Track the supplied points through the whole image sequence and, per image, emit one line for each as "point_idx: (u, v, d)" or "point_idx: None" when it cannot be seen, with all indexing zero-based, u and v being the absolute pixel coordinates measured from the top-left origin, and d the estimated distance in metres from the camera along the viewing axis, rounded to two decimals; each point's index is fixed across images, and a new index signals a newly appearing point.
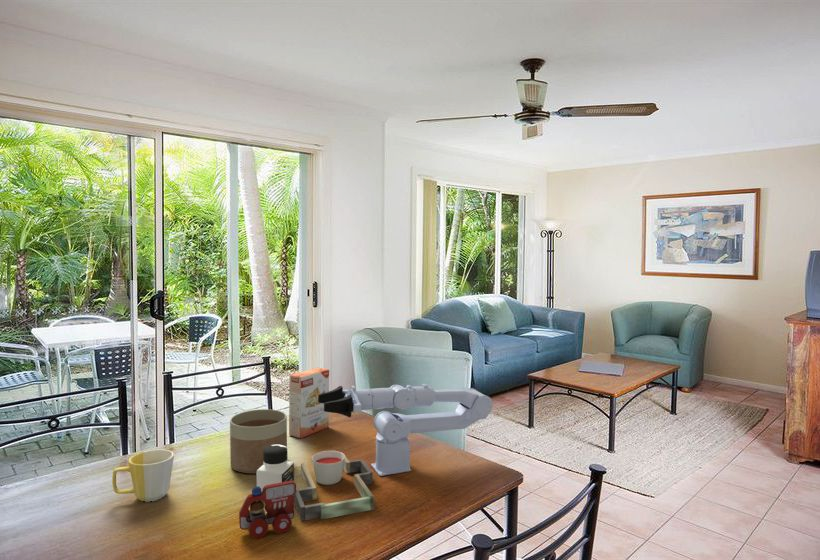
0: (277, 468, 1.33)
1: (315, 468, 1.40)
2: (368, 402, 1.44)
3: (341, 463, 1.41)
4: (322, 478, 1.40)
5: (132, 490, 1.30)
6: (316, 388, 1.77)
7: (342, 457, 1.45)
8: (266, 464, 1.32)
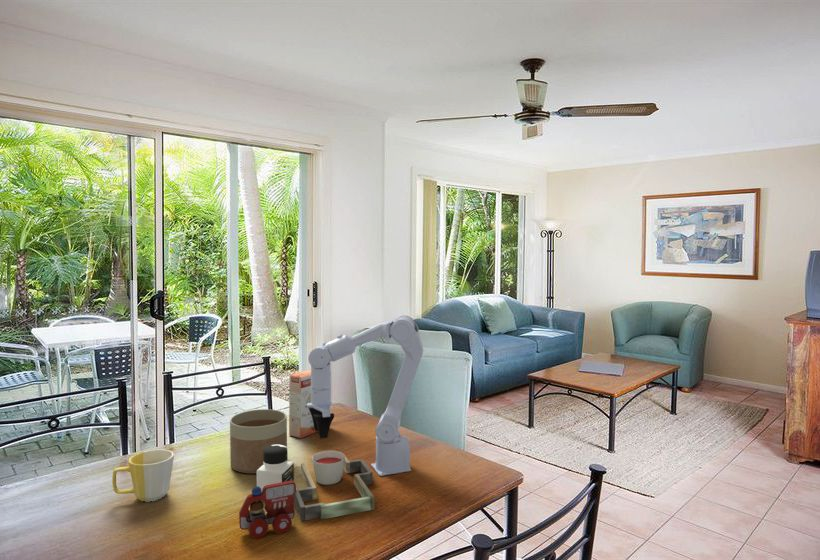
0: (277, 468, 1.33)
1: (315, 468, 1.40)
2: (323, 394, 1.48)
3: (341, 463, 1.41)
4: (322, 478, 1.40)
5: (132, 490, 1.30)
6: None
7: (342, 457, 1.45)
8: (266, 464, 1.32)
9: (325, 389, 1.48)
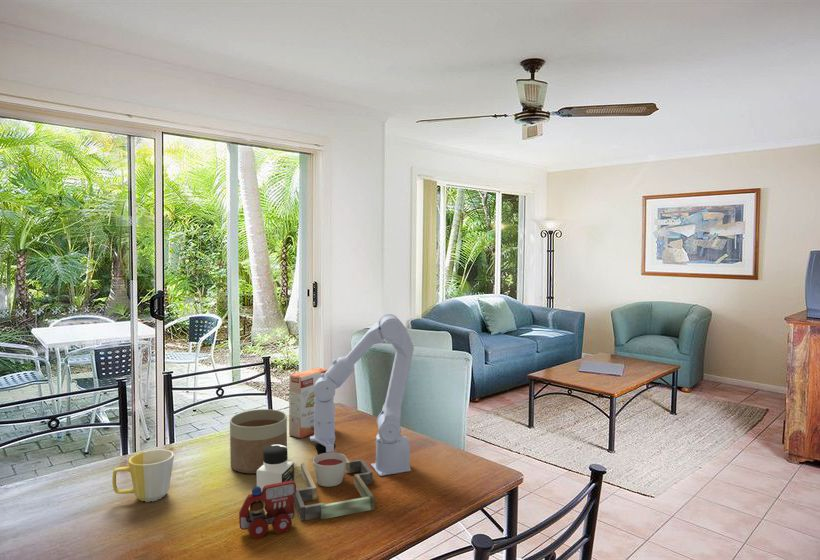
0: (277, 468, 1.33)
1: (316, 470, 1.39)
2: (326, 427, 1.44)
3: (342, 465, 1.39)
4: (323, 480, 1.38)
5: (132, 490, 1.30)
6: None
7: (343, 459, 1.44)
8: (266, 464, 1.32)
9: (329, 422, 1.45)
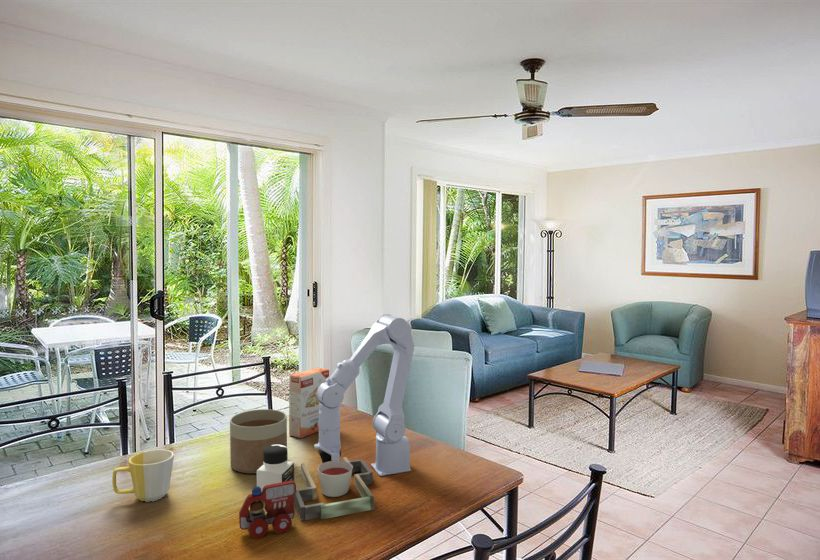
0: (277, 468, 1.33)
1: (321, 479, 1.33)
2: (331, 435, 1.39)
3: (348, 474, 1.34)
4: (329, 490, 1.33)
5: (132, 490, 1.30)
6: (316, 388, 1.77)
7: (349, 467, 1.38)
8: (266, 464, 1.32)
9: (334, 429, 1.39)
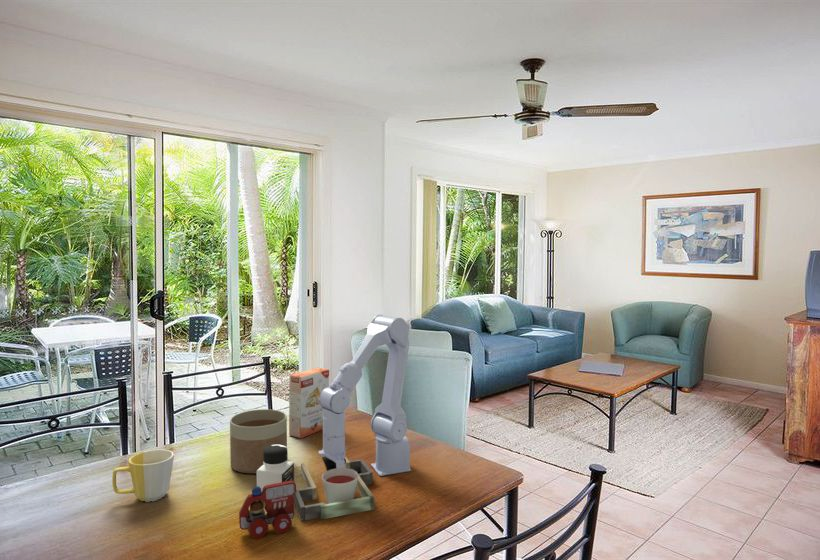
0: (277, 468, 1.33)
1: (325, 488, 1.29)
2: (336, 441, 1.34)
3: (354, 482, 1.29)
4: (333, 499, 1.28)
5: (132, 490, 1.30)
6: (316, 388, 1.77)
7: (354, 475, 1.33)
8: (266, 464, 1.32)
9: (339, 436, 1.34)
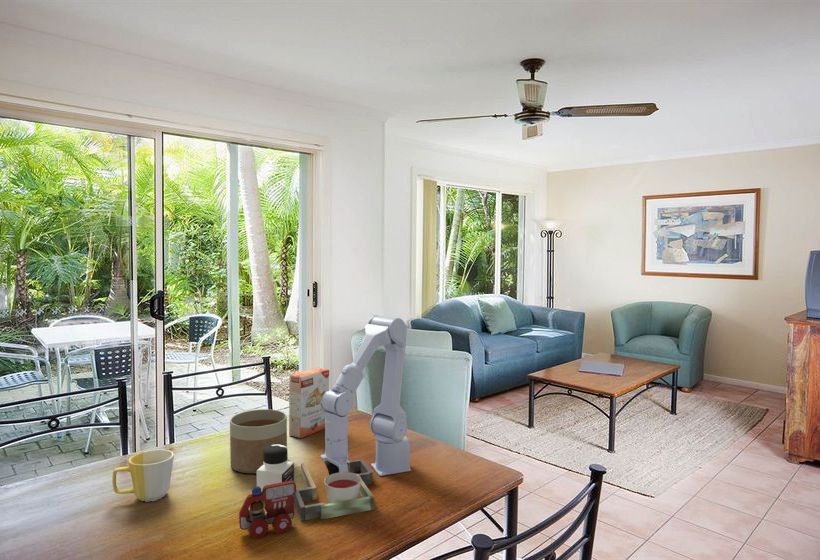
0: (277, 468, 1.33)
1: (328, 493, 1.26)
2: (339, 445, 1.32)
3: (357, 487, 1.27)
4: None
5: (132, 490, 1.30)
6: (316, 388, 1.77)
7: (357, 480, 1.31)
8: (266, 464, 1.32)
9: (341, 440, 1.32)
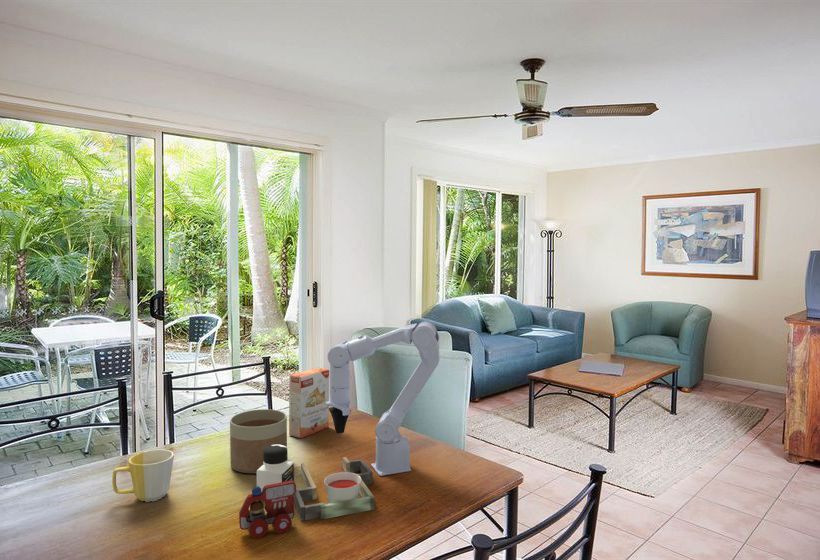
0: (277, 468, 1.33)
1: (328, 493, 1.26)
2: (342, 392, 1.48)
3: (357, 487, 1.27)
4: None
5: (132, 490, 1.30)
6: (316, 388, 1.77)
7: (357, 480, 1.31)
8: (266, 464, 1.32)
9: (344, 387, 1.48)
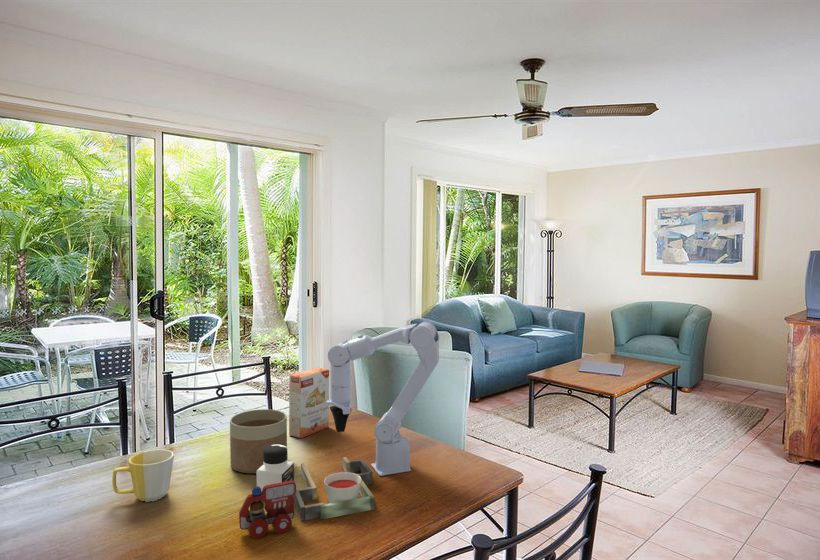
0: (277, 468, 1.33)
1: (328, 493, 1.26)
2: (342, 391, 1.49)
3: (357, 487, 1.27)
4: None
5: (132, 490, 1.30)
6: (316, 388, 1.77)
7: (357, 480, 1.31)
8: (266, 464, 1.32)
9: (345, 386, 1.49)
